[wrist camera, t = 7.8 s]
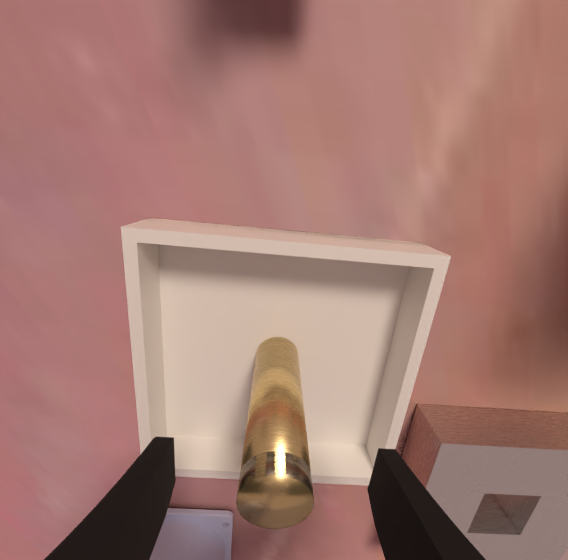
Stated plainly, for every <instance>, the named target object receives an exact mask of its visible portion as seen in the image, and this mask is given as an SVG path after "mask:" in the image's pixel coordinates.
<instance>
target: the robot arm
mask: <svg viewBox="0 0 568 560" xmlns="http://www.w3.org/2000/svg"><path fill="white" fill-rule="evenodd" d="M174 484H175V453H174V437H155V438H153V439H152V441H151V442H150V443H149V444H148V446H147V447H146V448H145V450H144V451H143V452H142V453H141V455H140V456H139V457H138V458H137V459H136V461H135V462H134V463H133V464H132V466H131V467H130V468H129V469H128V470H127V472H126V473H125V474H124V475H123V476H122V477H121V479H120V480H119V481H118V482H117V483H116V484H115V485H114V487H113V488H112V489H111V490H110V491H109V492H108V493H107V495H106V496H105V497H104V498H103V499H102V500H101V501H100V502H99V504H98V505H97V506H96V507H95V508H94V509H93V510H92V511H91V512H90V513H89V514H88V515H87V516H86V517H85V518H84V519H83V521H82V522H81V523H80V524H79V525H78V526H77V527H76V528H75V529H74V530H73V531H72V532H71V533H70V534H69V535H68V536H67V537H66V538H65V539H64V540H63V541H62V542H61V543H60V544H59V545H58V546H57V547H56V548H55V549H54V550H53V551H52V552H51V553H50V554H49V555H48V556H47V557H46V558H45V559H44V560H231V549H232V531H233V513H232V512H231V511H228V510H207V509H183V508H168V506H169V502H170V499H171V495H172V492H173V488H174ZM368 494H369V499H370V504H371V509H372V514H373V518H374V523H375V527H376V530H377V533H378V537H379V540H380V543H381V547H382V550H383V553H384V556H385V560H486V559H485V558H484V557H483V556H482V555H481V554H480V552H479V551H478V550H477V549H476V548H475V547H474V546H473V545H472V543H471V542H470V541H469V540H468V539H467V538H466V537H465V535H464V534H463V533H462V532H461V531H460V530H459V528H458V527H457V526H456V525H455V524H454V523H453V521H452V520H451V519H450V518H449V517H448V515H447V514H446V513H445V512H444V510H443V509H442V508H441V507H440V506H439V504H438V503H437V502H436V501H435V500H434V498H433V497H432V496H431V495H430V493H429V492H428V491H427V489H426V488H425V487H424V486H423V484H422V483H421V482H420V481H419V479H418V478H417V477H416V475H415V474H414V473H413V472H412V470H411V469H410V468H409V466H408V465H407V464H406V462H405V461H404V460H403V459H402V457H401V456H400V455H399V453H398V452H397V451H396V450H395V449H382V448H378V452H377V456H376V459H375V463H374V467H373V471H372V475H371V479H370V482H369V486H368Z"/></svg>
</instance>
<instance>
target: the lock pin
mask: <svg viewBox="0 0 568 560" xmlns="http://www.w3.org/2000/svg"><path fill="white" fill-rule="evenodd" d="M236 504H237V508H238V511H239V513H240V514H241V515H242V517H243V518H244V519H246V520H247V521H248V522H250V523H252V524H254V525H256V526H259V527H263V528H269V529H280V528H286V527H290V526H293V525H296V524H298V523H300V522H301V521H303V520H304V519H305V518H306V517H307V516H308V515H309V514H310V513H311V511H312V509H313V505H314V497H313V487H312V478H311V469H310V459H309V450H308V441H307V432H306V422H305V413H304V404H303V394H302V385H301V376H300V366H299V357H298V350H297V348H296V346H295V345H294V344H293V343H292V342H291V341H290V340H288V339H286V338H283V337H272V338H269V339H266V340H265V341H263V342H262V343H261V344H260V345H259V347H258V349H257V352H256V359H255V367H254V374H253V381H252V389H251V396H250V404H249V411H248V419H247V426H246V434H245V441H244V448H243V456H242V463H241V471H240V478H239V486H238V493H237V503H236Z"/></svg>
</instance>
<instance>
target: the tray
mask: <svg viewBox="0 0 568 560" xmlns="http://www.w3.org/2000/svg"><path fill="white" fill-rule="evenodd" d="M121 234H122V246H123V257H124V269H125V280H126V292H127V303H128V315H129V326H130V337H131V349H132V360H133V372H134V383H135V395H136V406H137V418H138V429H139V441H140V452H141V453H142V452H143V451H144V450H145V448H146V447H147V446H148V444H149V443H150V442H151V441H152V439H153V438H155V437H174V453H175V476H178V477H199V478H220V479H239V478H240V471H241V463H242V456H243V448H244V441H245V434H246V426H247V419H248V411H249V404H250V396H251V389H252V381H253V374H254V367H255V359H256V352H257V349H258V347H259V345H260V344H261V343H262V342H263V341H265V340H266V339H269V338H272V337H283V338H286V339H288V340H290V341H291V342H292V343H293V344H294V345H295V346H296V348H297V350H298V357H299V366H300V376H301V385H302V394H303V404H304V413H305V422H306V432H307V441H308V450H309V459H310V469H311V478H312V483H326V484H347V485H368V486H369V482H370V479H371V475H372V471H373V467H374V463H375V459H376V456H377V452H378V448H382V449H396V446H397V442H398V439H399V435H400V432H401V428H402V425H403V421H404V418H405V414H406V411H407V408H408V404H409V401H410V397H411V394H412V390H413V387H414V383H415V380H416V376H417V373H418V370H419V366H420V363H421V359H422V356H423V352H424V349H425V345H426V342H427V338H428V335H429V331H430V328H431V325H432V321H433V318H434V314H435V311H436V307H437V304H438V300H439V297H440V293H441V290H442V287H443V283H444V280H445V276H446V273H447V269H448V266H449V262H450V259H451V256H449V255H447V254H445V253H443V252H440V251H438V250H436V249H433V248H431V247H429V246H427V245H424V244H422V243H420V242H410V241H399V240H388V239H377V238H366V237H355V236H344V235H334V234H323V233H312V232H301V231H290V230H279V229H268V228H257V227H246V226H235V225H224V224H213V223H202V222H191V221H180V220H169V219H158V218H149V219H145V220H142V221H139V222H135V223H132V224H129V225H125V226H122V227H121Z"/></svg>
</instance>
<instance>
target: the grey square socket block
mask: <svg viewBox="0 0 568 560" xmlns="http://www.w3.org/2000/svg"><path fill="white" fill-rule="evenodd" d="M401 457H402V459H403V460H404V461H405V462H406V464H407V465H408V466H409V468H410V469H411V470H412V472H413V473H414V474H415V475H416V477H417V478H418V479H419V481H420V482H421V483H422V484H423V486H424V487H425V488H426V489H427V491H428V492H429V493H430V495H431V496H432V497H433V498H434V500H435V501H436V502H437V503H438V504H439V506H440V507H441V508H442V509H443V510H444V512H445V513H446V514H447V515H448V517H449V518H450V519H451V520H452V521H453V523H454V524H455V525H456V526H457V527H458V528H459V530H460V531H461V532H462V533H463V534H464V535H465V537H466V538H467V539H468V540H469V541H470V542H471V543H472V545H473V546H474V547H475V548H476V549H477V550H478V551H479V552H480V554H481V555H482V556H483V557H484V558H485V559H486V560H560V559H561V557H562V556H563V554H564V552H565V551H566V549H567V548H568V413H554V412H538V411H522V410H506V409H490V408H474V407H458V406H442V405H426V404H417V406H416V409H415V413H414V416H413V419H412V423H411V426H410V429H409V433H408V436H407V439H406V443H405V446H404V449H403V453H402V456H401Z"/></svg>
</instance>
